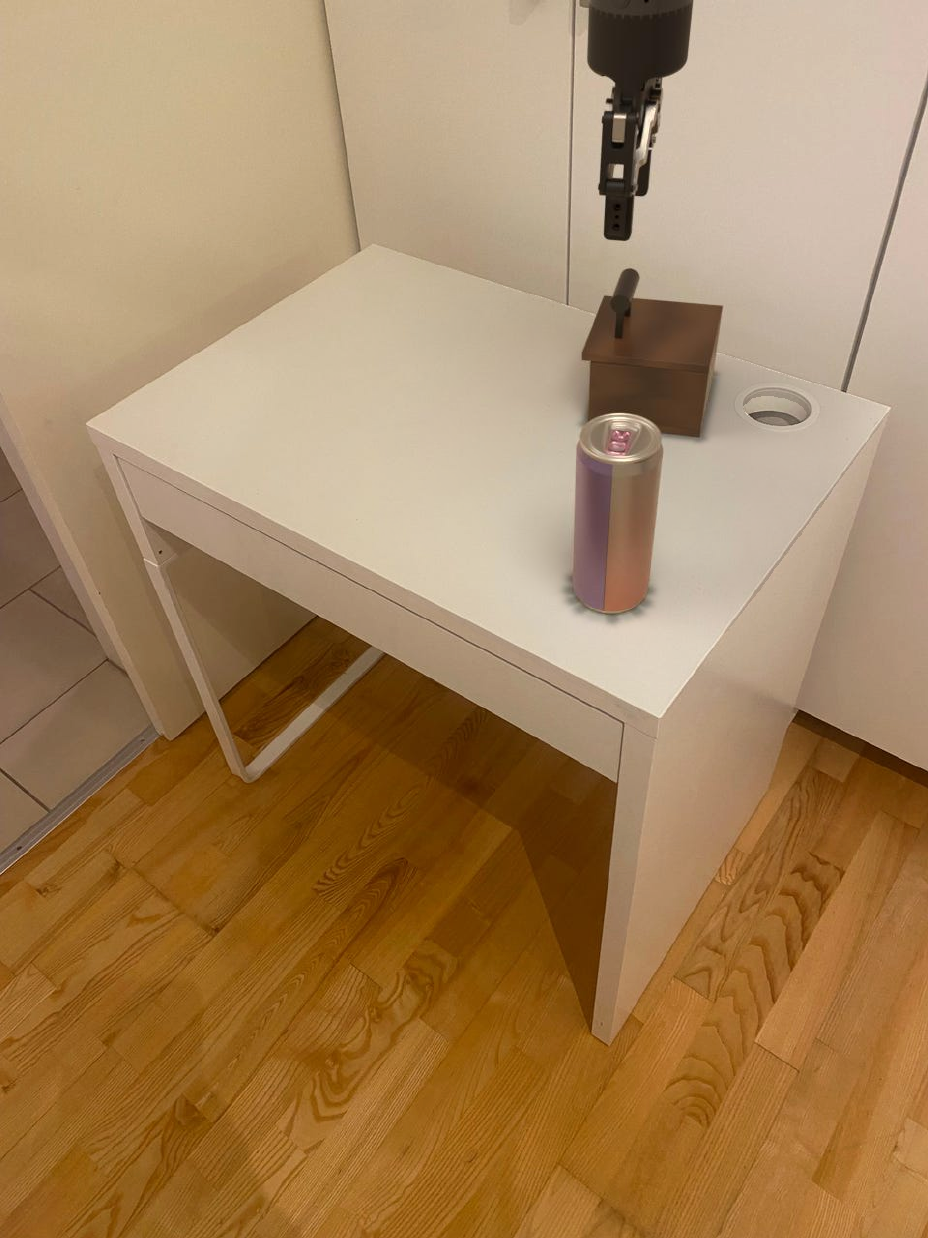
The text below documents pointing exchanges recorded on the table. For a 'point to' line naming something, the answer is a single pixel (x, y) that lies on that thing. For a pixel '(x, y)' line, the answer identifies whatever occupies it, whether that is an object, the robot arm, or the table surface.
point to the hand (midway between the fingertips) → (626, 215)
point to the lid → (652, 330)
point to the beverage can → (615, 510)
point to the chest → (652, 394)
